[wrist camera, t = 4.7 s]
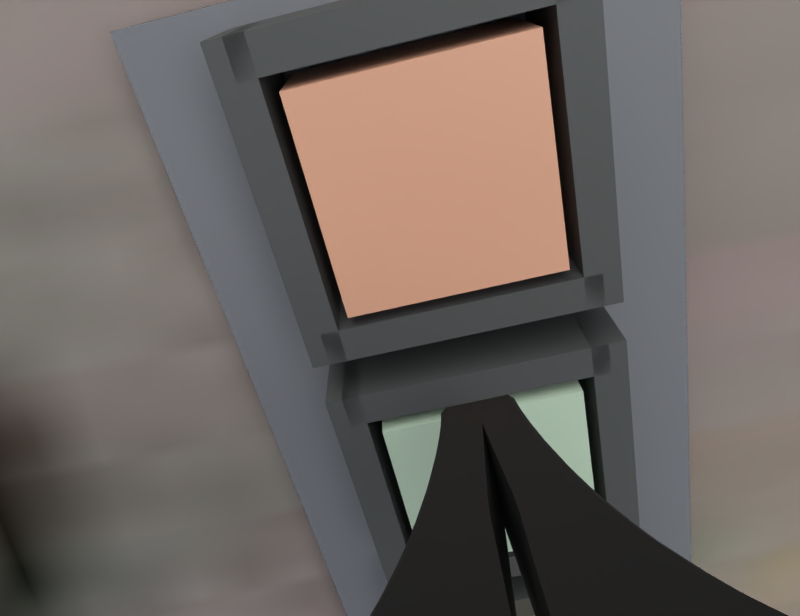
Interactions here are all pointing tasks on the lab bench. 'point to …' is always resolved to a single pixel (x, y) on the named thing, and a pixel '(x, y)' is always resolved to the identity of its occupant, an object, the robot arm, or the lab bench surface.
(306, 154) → the terracotta button
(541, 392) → the sage button
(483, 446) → the robot arm
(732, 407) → the lab bench surface
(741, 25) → the lab bench surface
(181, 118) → the button panel
